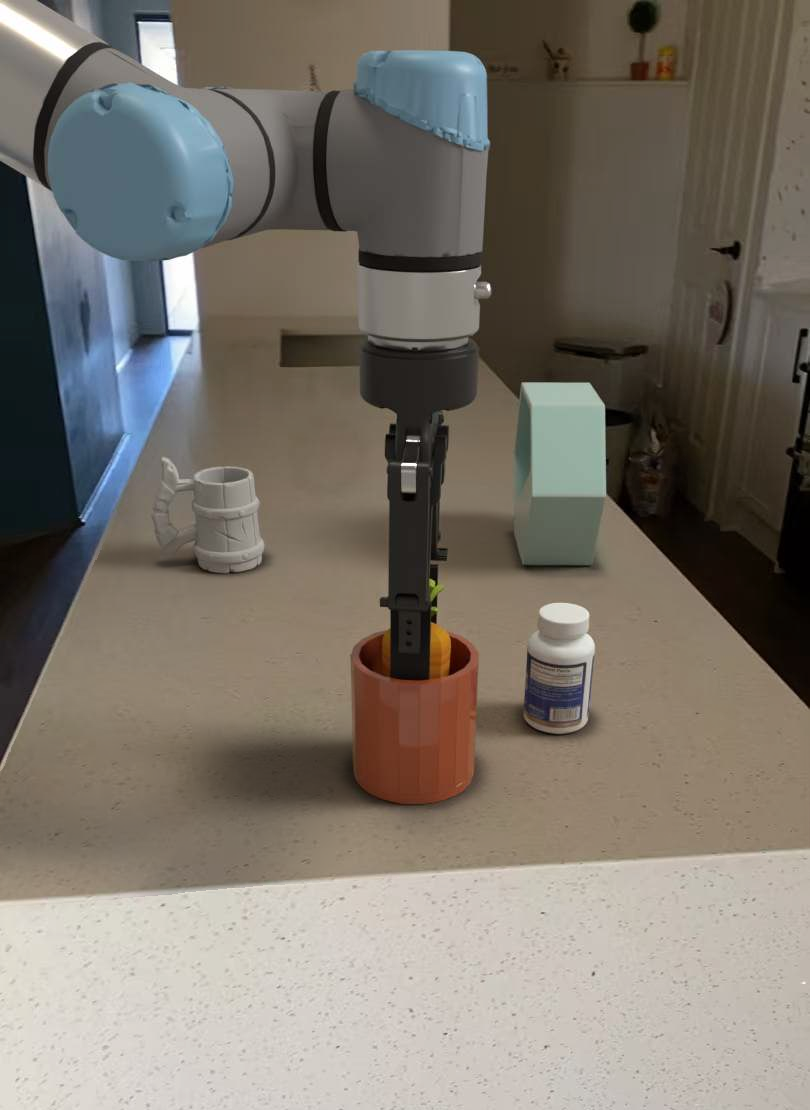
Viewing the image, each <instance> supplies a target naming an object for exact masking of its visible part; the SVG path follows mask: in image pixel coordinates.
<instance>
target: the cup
mask: <svg viewBox="0 0 810 1110" xmlns="http://www.w3.org/2000/svg"><path fill="white" fill-rule="evenodd" d="M387 630H388V629H384V630H381V631H378V632H374V633H372V634H370V635H368V636H365V637H363V638H362V639H360V640H359V641H358V642H357V643H356V644H354V645H353V647H352V649H351V652H350V653H351V654H350V686H351V687H350V691H351V737H352V739H351V740H352V764H353V776H354V779H355V780H356V782H357V784H358V785H359V786H360V787H361V789H363V790H364V791H365V792H367V793H368V794H370V795H372V796H374V797H376V798H378V799H380V800H384V801H387V802H392V803H395V804H402V805H426V804H433V803H434V804H435V803H438V802H442V801H446V800H449V799H451V798H453V797H455V796H457V795H459V794H460V793H462V792H463V791H465V790H466V789H467V788H468V787H469V785H470V784H471V783H472V781H473V778H474V774H475V759H476V758H475V757H476V735H477V733H476V732H477V712H478V711H477V709H478V707H477V706H478V685H479V684H478V681H479V663H480V659H479V658H480V653H479V651H478V650H477V648H476V646H475V645H474V643H473V642H471V641H470V640H468V639H467V638H465V637H464V636H462V635H459V634H457V633H455V632H451V631H448V630H445V631H446V632H447V633H448V634H449V636H450V639H451V652H450V666H449V676H446V677H442V678H438V679H430V680H420V681H417V680H400V679H395V678H390V677H385V676H383V673H382V641H383V636H384V633H385V632H386V631H387Z"/></svg>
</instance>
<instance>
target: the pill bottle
mask: <svg viewBox="0 0 810 1110" xmlns="http://www.w3.org/2000/svg"><path fill="white" fill-rule="evenodd" d="M589 629H590V612H589V611H588V610H587V608H585V607H583V606H581V605H579V604H574V603H569V602H568V603H567V602H554V603H548V604H544V605H542V606H541V607H540V609H538V617H537V630H535V631H534V632H532V634H531V635H530V637H529V639H528V641H527V645H526V646H527V647H526V666H525V683H524V698H523V718H524V720H525V721H526V723H527V724H528V725H529V726H530V727H532V728H534V729H536V730H537V731H540V732H544V733H549V734H556V735H565V734H569V733H574V732H577V731H579V730H580V729H583V728H584V727H585V725H587V723H588V720H589V714H590V706H591V695H592V687H593V686H592V685H593V676H594V675H593V673H594V663H595V655H596V645H595V641H594V640H593V638H592V636H591V635H590V634H588V632H589Z"/></svg>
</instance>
